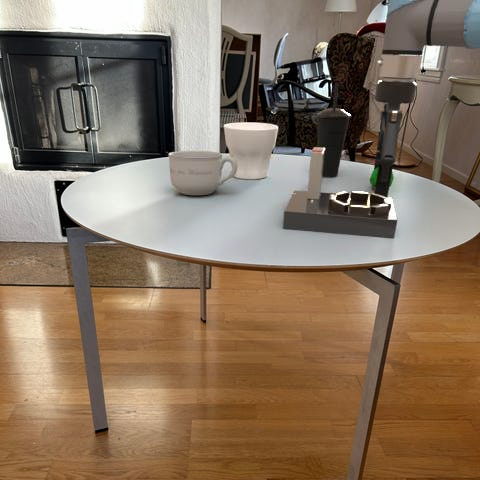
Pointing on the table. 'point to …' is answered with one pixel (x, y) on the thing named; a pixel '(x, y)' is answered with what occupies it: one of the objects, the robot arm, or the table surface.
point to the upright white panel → (315, 173)
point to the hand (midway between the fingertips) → (379, 189)
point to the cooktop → (334, 218)
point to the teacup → (198, 171)
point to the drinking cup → (332, 136)
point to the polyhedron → (374, 177)
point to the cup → (251, 147)
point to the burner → (359, 204)
